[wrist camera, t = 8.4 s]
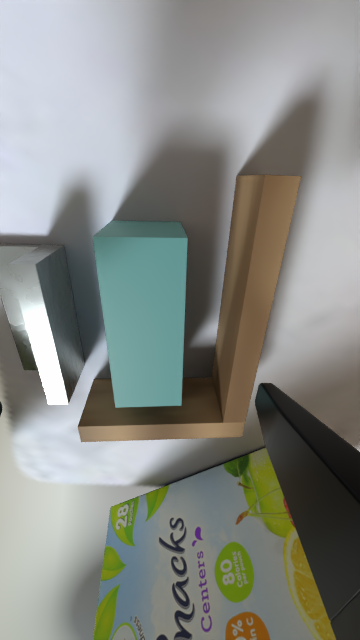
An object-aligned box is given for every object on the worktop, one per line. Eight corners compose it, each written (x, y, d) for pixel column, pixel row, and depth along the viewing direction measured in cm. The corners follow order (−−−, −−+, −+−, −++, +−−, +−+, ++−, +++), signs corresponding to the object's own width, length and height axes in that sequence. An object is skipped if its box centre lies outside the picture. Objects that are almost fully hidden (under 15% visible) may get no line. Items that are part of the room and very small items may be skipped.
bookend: (63, 245, 15) (35, 264, 12) (84, 364, 20) (68, 404, 16) (-10, 243, 15) (-62, 262, 12) (27, 364, 19) (-2, 405, 16)
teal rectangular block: (180, 221, 15) (187, 237, 11) (177, 356, 20) (181, 405, 16) (112, 220, 15) (92, 237, 11) (125, 357, 20) (115, 407, 16)
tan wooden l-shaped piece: (263, 177, 14) (301, 176, 10) (227, 390, 22) (241, 436, 18) (60, 168, 14) (18, 163, 10) (96, 393, 21) (81, 442, 17)
